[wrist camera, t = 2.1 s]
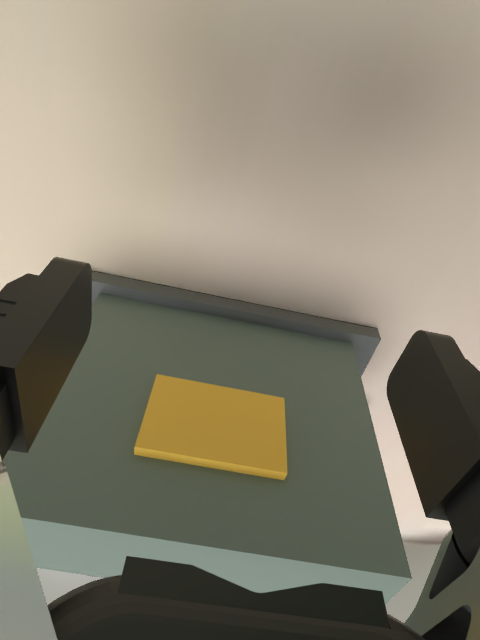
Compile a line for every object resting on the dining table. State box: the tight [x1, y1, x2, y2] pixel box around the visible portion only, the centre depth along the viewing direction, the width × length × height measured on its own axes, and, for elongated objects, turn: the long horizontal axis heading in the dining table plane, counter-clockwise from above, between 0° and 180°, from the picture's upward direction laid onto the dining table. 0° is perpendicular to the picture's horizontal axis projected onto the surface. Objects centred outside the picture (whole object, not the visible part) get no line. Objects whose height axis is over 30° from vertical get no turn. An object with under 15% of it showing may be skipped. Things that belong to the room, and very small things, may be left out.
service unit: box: [2, 271, 412, 604], centre depth 21 cm, size 18×5×14 cm, turn 78°
